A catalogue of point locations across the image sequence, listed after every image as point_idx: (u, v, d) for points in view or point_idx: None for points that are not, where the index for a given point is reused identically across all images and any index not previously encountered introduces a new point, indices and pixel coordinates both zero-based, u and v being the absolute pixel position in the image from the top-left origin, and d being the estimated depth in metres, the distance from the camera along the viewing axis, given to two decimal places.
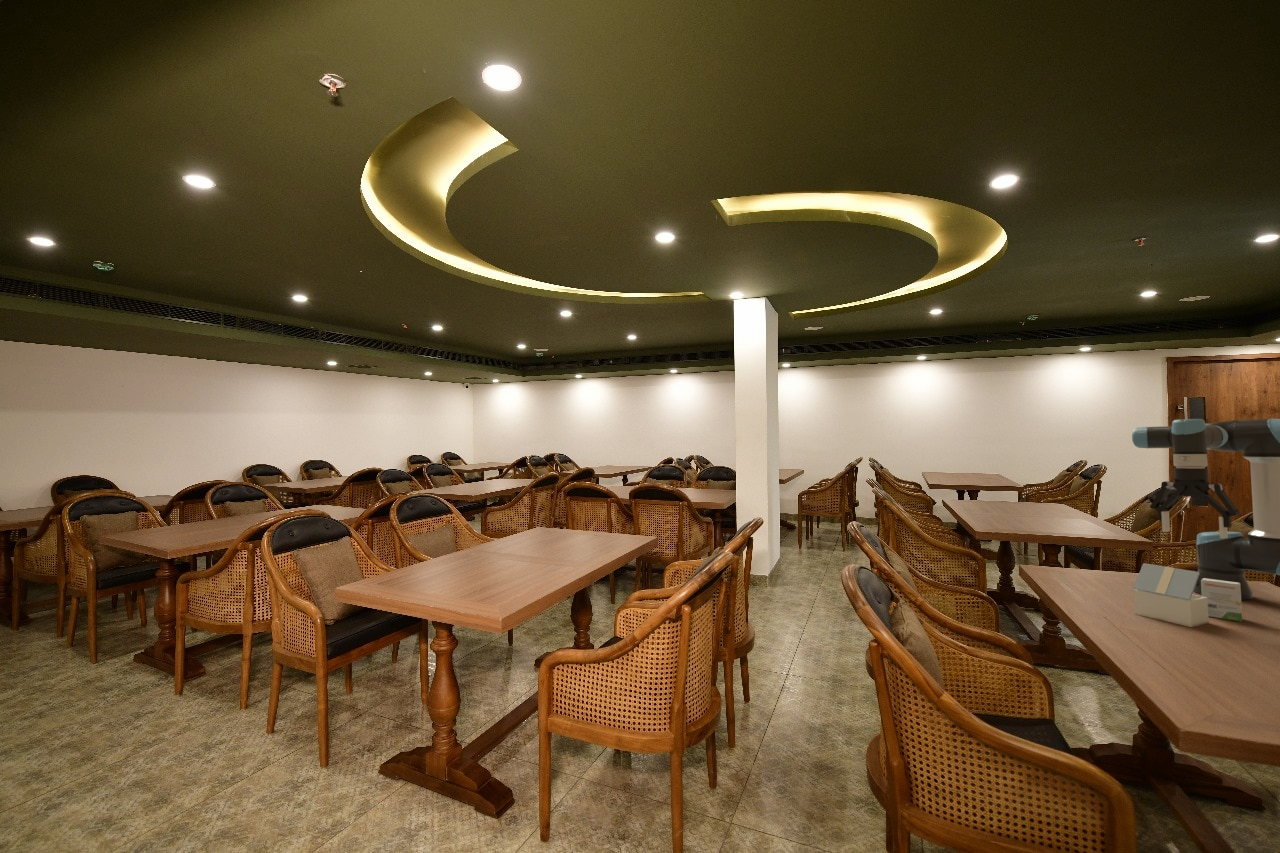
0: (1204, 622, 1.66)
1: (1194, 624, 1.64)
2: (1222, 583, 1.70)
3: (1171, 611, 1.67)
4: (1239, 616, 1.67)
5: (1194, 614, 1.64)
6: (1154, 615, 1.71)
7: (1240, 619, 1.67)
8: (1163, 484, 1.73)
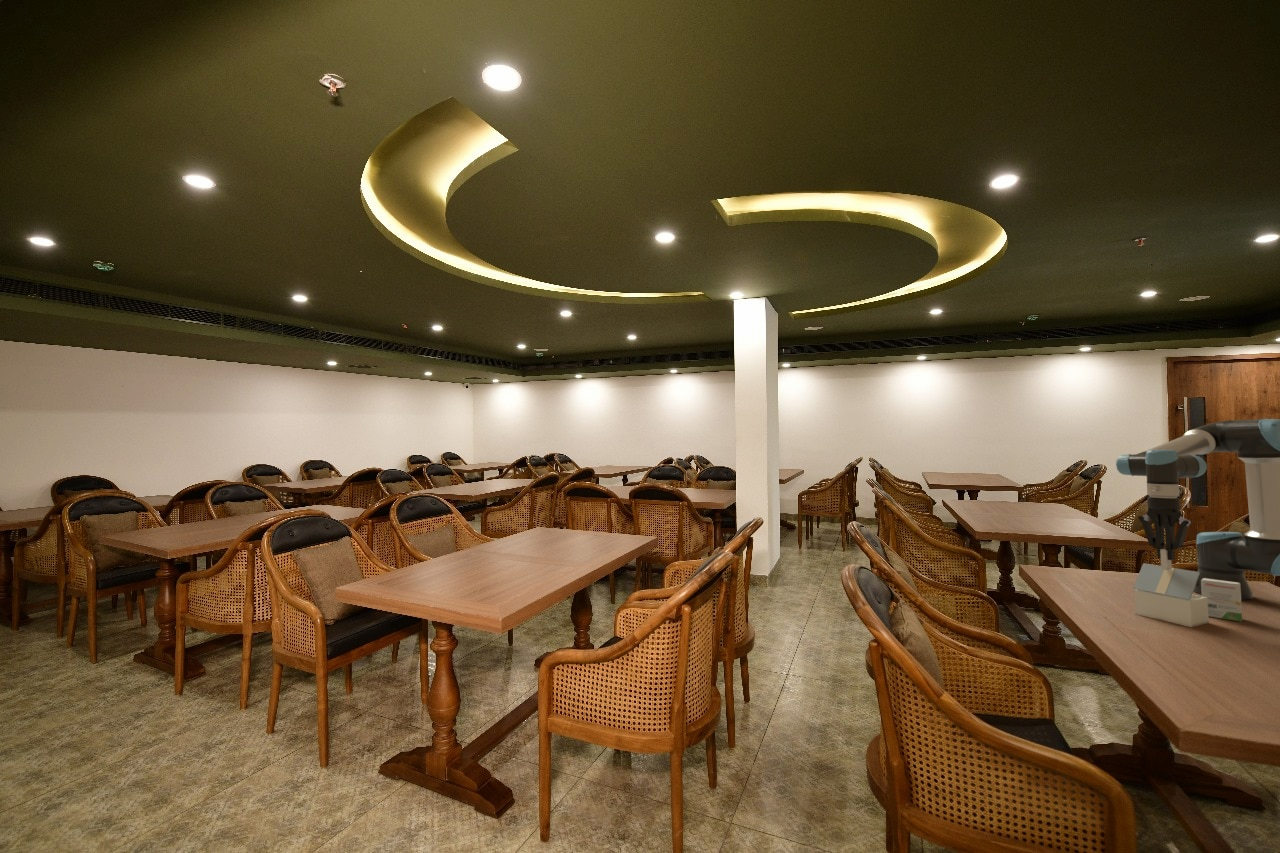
0: (1204, 622, 1.66)
1: (1194, 624, 1.64)
2: (1222, 583, 1.70)
3: (1171, 611, 1.67)
4: (1239, 616, 1.67)
5: (1194, 614, 1.64)
6: (1154, 615, 1.71)
7: (1240, 619, 1.67)
8: (1140, 519, 1.77)
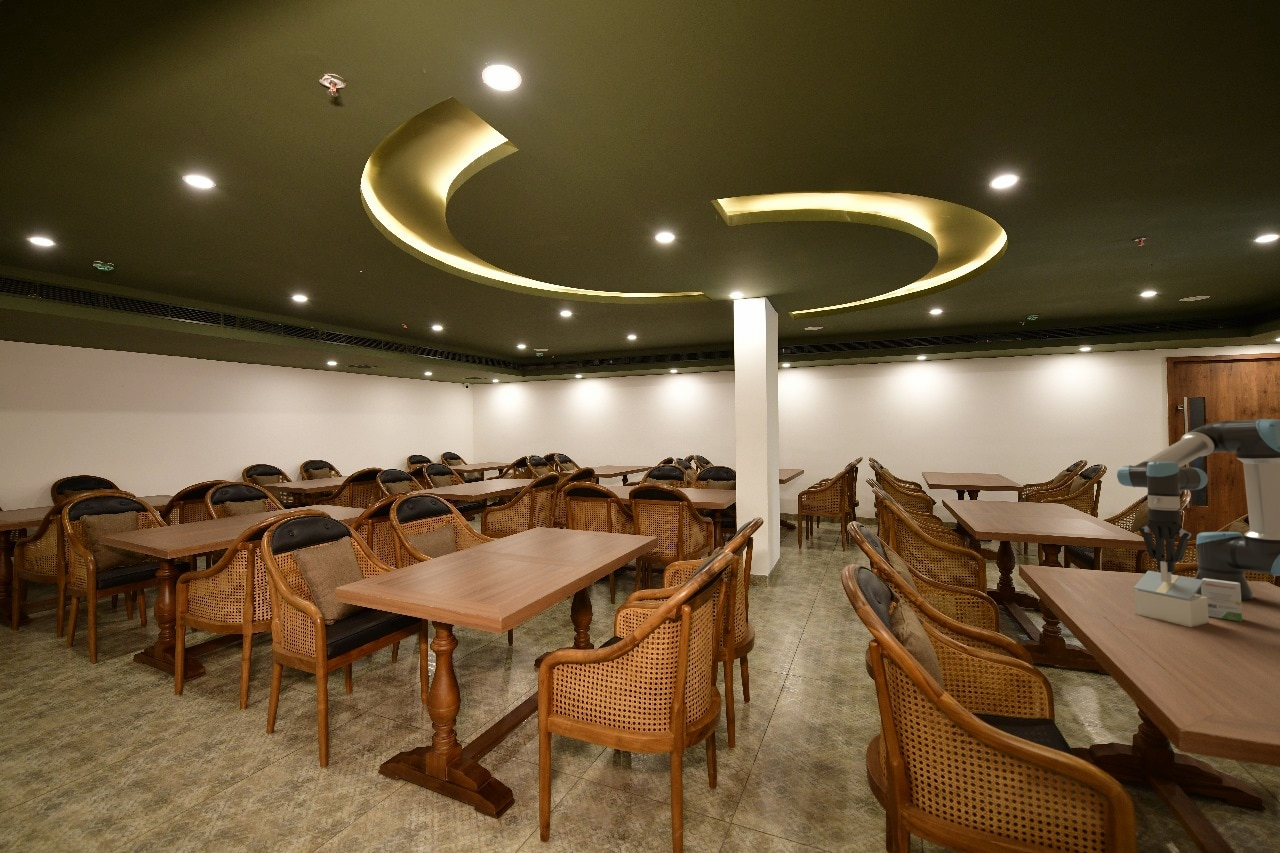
0: (1204, 622, 1.66)
1: (1194, 624, 1.64)
2: (1222, 583, 1.70)
3: (1171, 611, 1.67)
4: (1239, 616, 1.67)
5: (1194, 614, 1.64)
6: (1154, 615, 1.71)
7: (1240, 619, 1.67)
8: (1141, 530, 1.77)
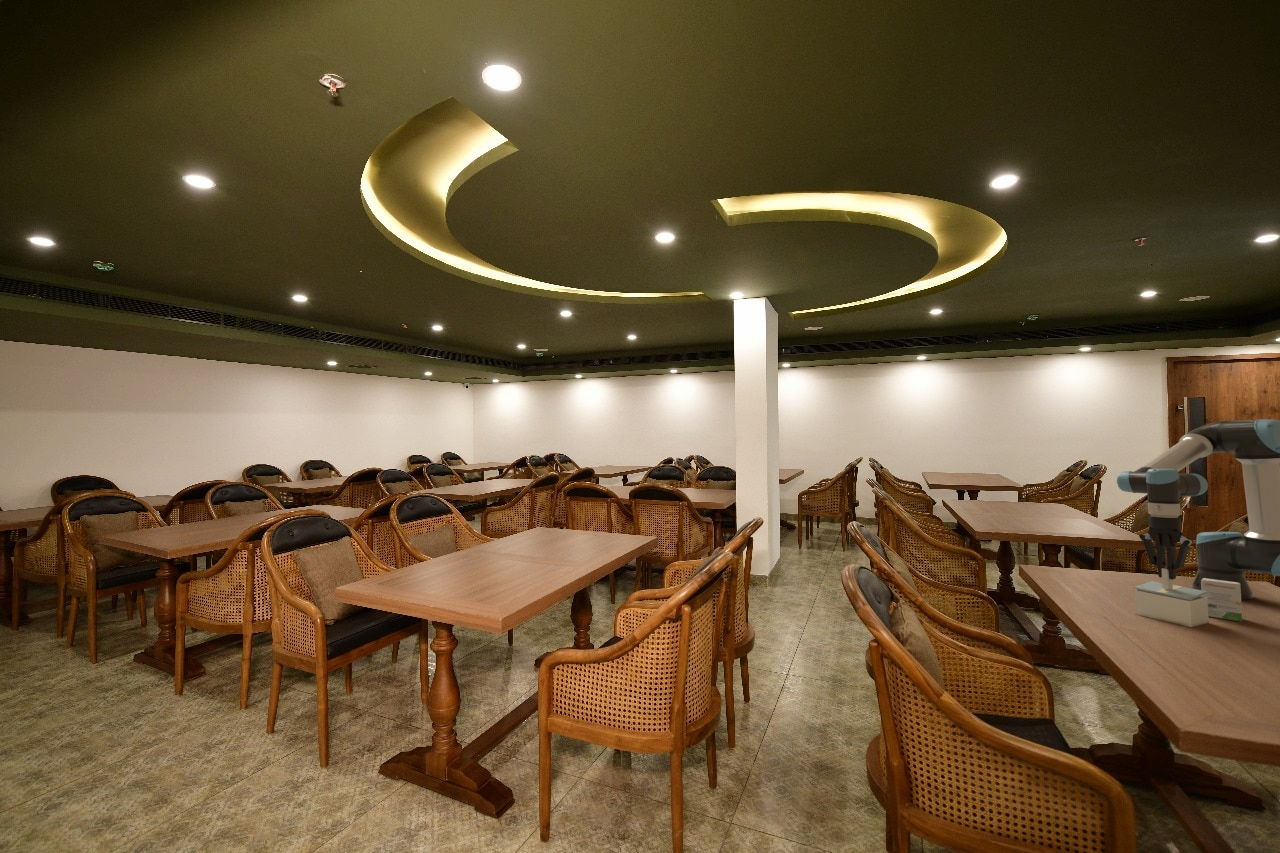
0: (1204, 622, 1.66)
1: (1194, 624, 1.64)
2: (1222, 583, 1.70)
3: (1171, 611, 1.67)
4: (1239, 616, 1.67)
5: (1194, 614, 1.64)
6: (1154, 615, 1.71)
7: (1240, 619, 1.67)
8: (1141, 537, 1.77)
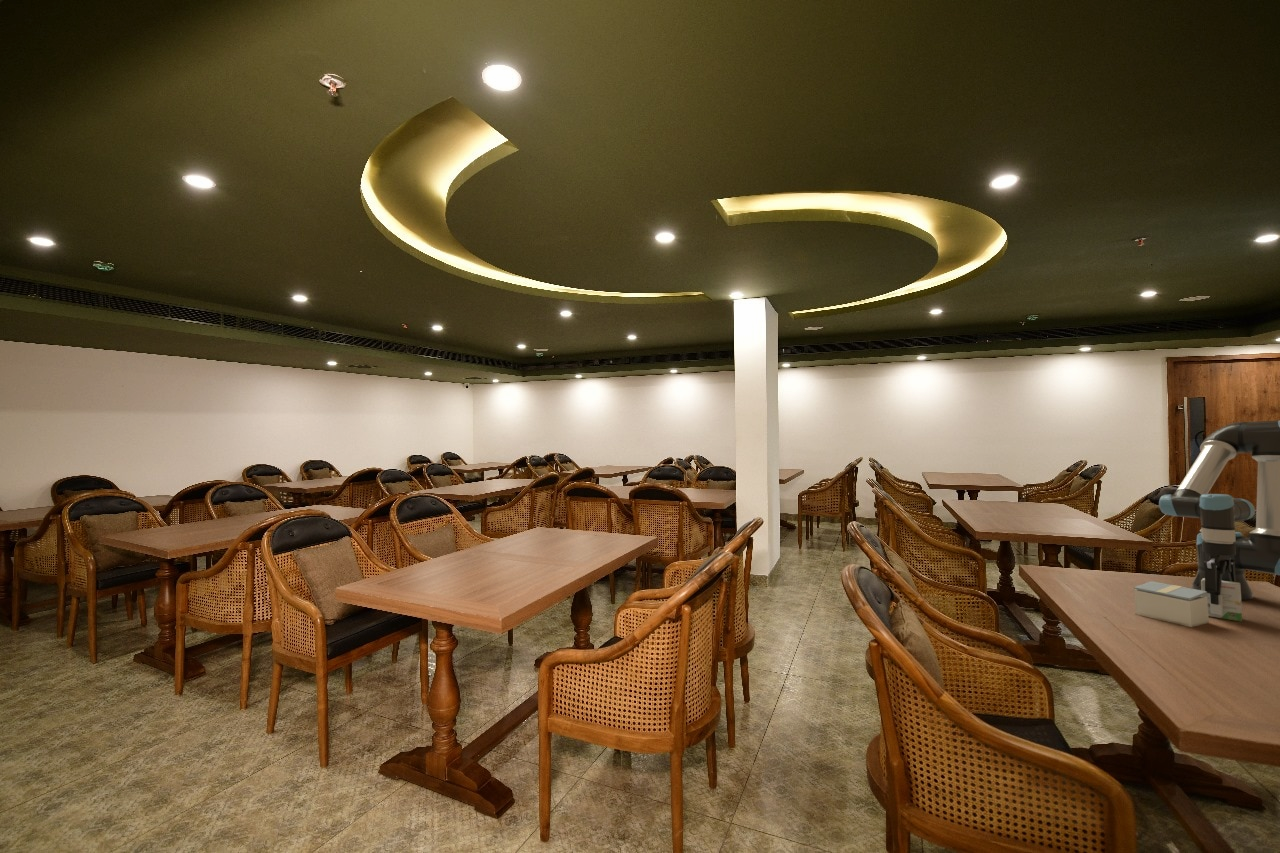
0: (1204, 622, 1.66)
1: (1194, 624, 1.64)
2: (1222, 583, 1.70)
3: (1171, 611, 1.67)
4: (1239, 616, 1.67)
5: (1194, 614, 1.64)
6: (1154, 615, 1.71)
7: (1240, 619, 1.67)
8: None
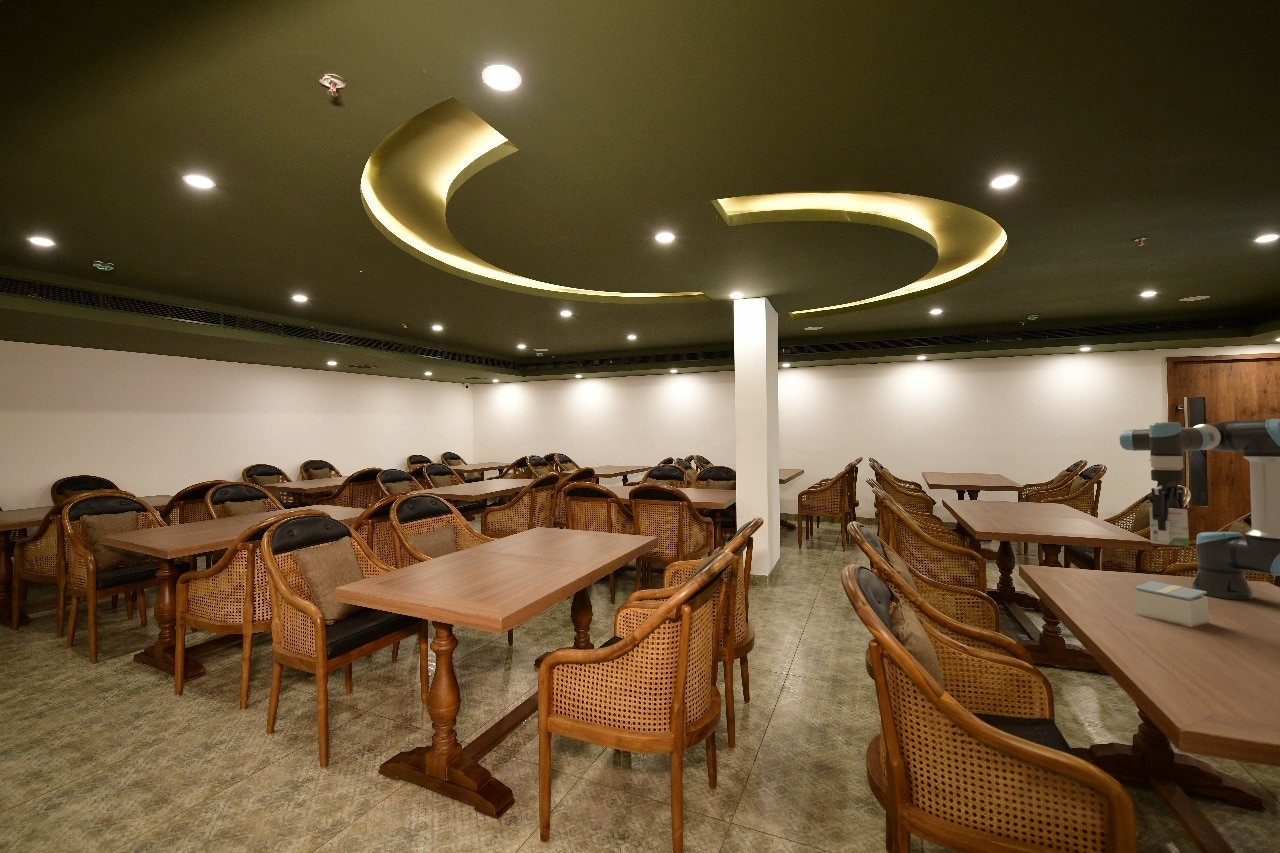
0: (1204, 622, 1.66)
1: (1194, 624, 1.64)
2: (1169, 509, 1.71)
3: (1171, 611, 1.67)
4: (1185, 541, 1.68)
5: (1194, 614, 1.64)
6: (1154, 615, 1.71)
7: (1186, 544, 1.68)
8: None
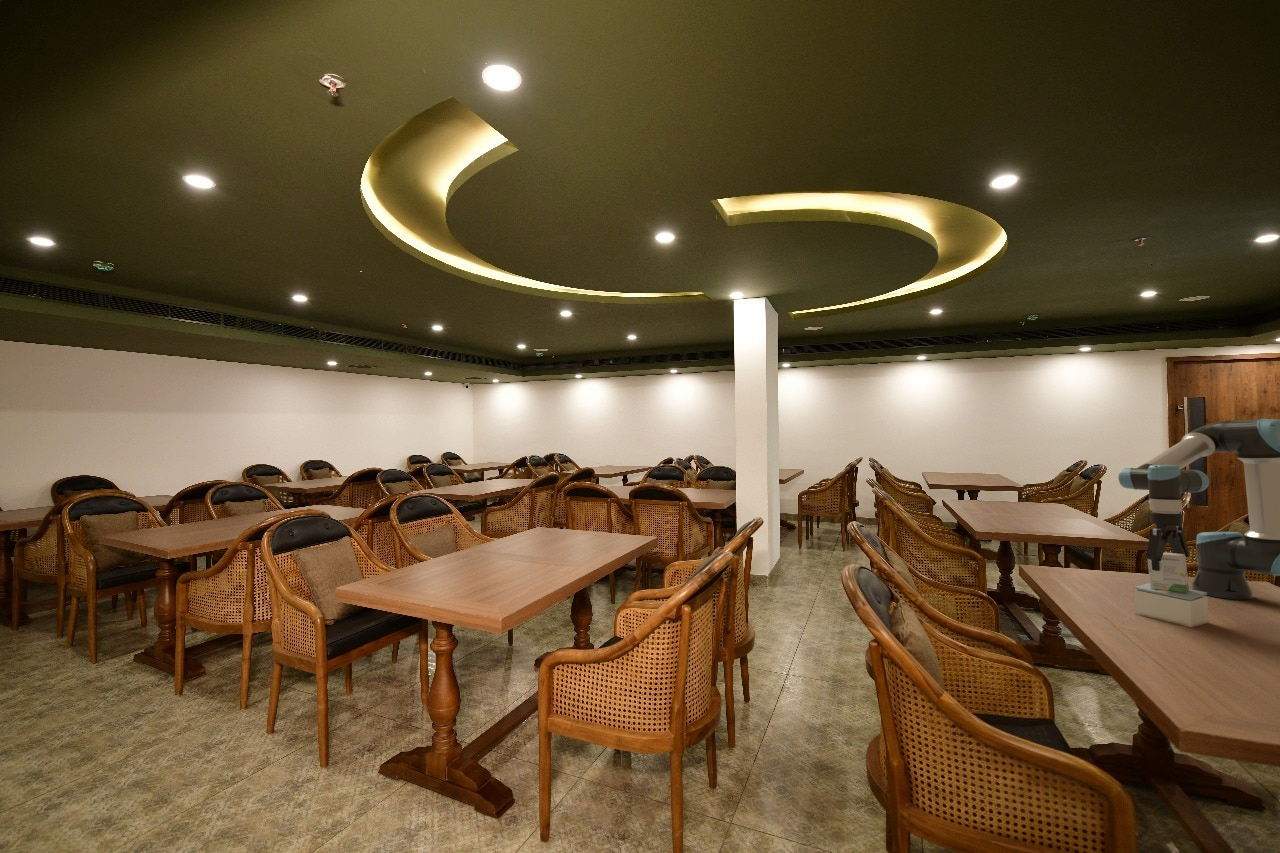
0: (1204, 622, 1.66)
1: (1194, 624, 1.64)
2: (1167, 555, 1.70)
3: (1171, 611, 1.67)
4: (1184, 588, 1.67)
5: (1194, 614, 1.64)
6: (1154, 615, 1.71)
7: (1185, 590, 1.67)
8: None
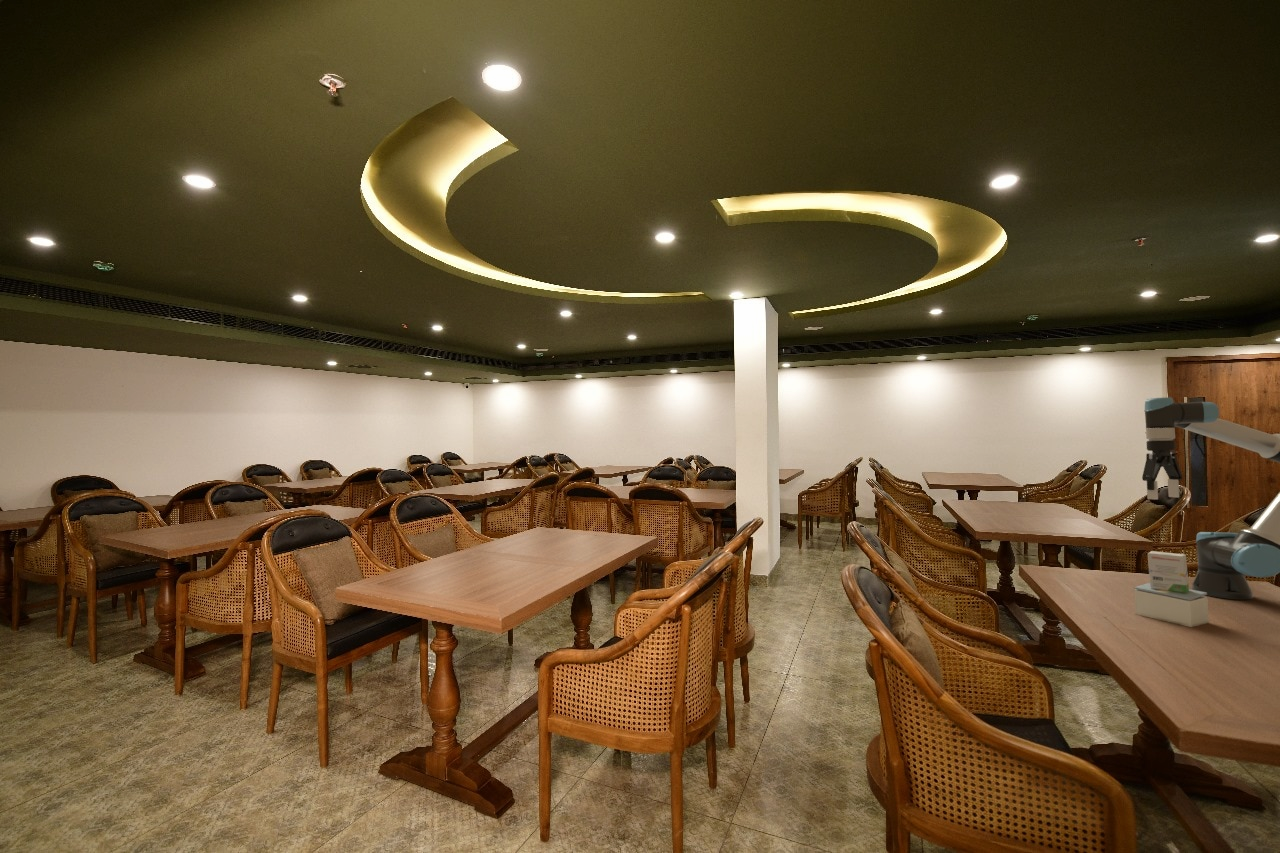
0: (1204, 622, 1.66)
1: (1194, 624, 1.64)
2: (1167, 556, 1.70)
3: (1171, 611, 1.67)
4: (1184, 588, 1.67)
5: (1194, 614, 1.64)
6: (1154, 615, 1.71)
7: (1185, 591, 1.67)
8: None
